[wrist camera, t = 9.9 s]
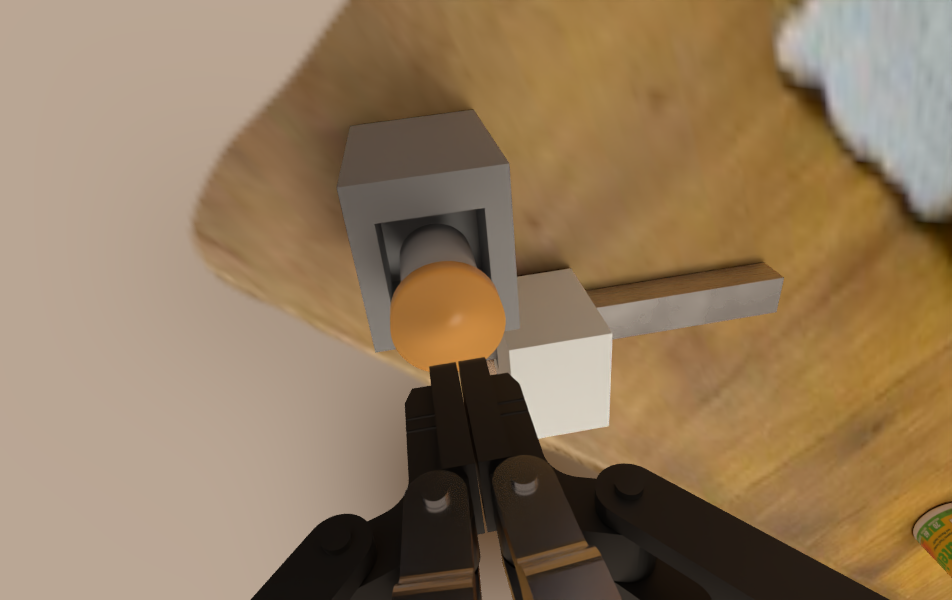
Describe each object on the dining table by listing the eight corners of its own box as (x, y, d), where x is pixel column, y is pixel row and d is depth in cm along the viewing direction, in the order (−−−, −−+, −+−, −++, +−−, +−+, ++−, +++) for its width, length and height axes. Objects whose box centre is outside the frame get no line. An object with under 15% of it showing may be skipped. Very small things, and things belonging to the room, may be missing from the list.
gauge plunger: (477, 206, 21) (501, 267, 16) (485, 289, 23) (509, 363, 18) (380, 220, 20) (380, 285, 16) (397, 303, 22) (400, 381, 18)
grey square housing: (473, 109, 27) (509, 163, 19) (486, 243, 31) (520, 332, 23) (350, 126, 27) (336, 187, 19) (378, 259, 30) (376, 356, 23)
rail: (763, 262, 34) (783, 277, 32) (757, 295, 35) (776, 312, 34) (475, 308, 33) (480, 326, 31) (479, 341, 34) (484, 360, 32)
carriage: (570, 268, 32) (612, 333, 26) (571, 351, 35) (609, 425, 29) (486, 281, 32) (508, 350, 26) (494, 364, 35) (516, 442, 29)
